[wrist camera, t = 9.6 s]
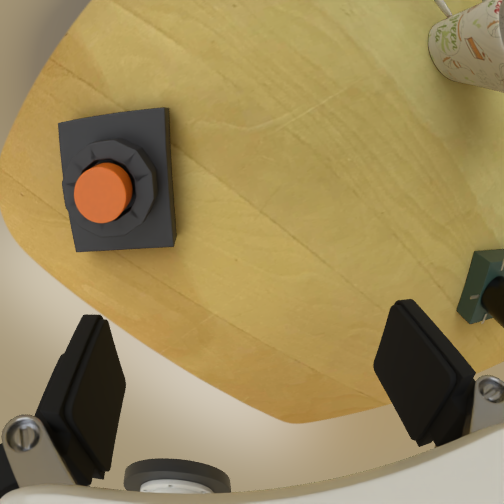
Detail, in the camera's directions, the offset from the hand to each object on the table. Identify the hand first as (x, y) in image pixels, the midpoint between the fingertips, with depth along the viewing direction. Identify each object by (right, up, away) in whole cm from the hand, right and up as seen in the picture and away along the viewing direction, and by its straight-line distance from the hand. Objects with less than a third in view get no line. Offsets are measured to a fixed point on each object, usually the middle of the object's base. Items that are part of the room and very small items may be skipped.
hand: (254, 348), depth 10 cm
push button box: (-10, +9, +13) cm, 18 cm away
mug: (+17, +23, +10) cm, 30 cm away
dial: (+28, -2, +19) cm, 34 cm away
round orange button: (-10, +7, +10) cm, 15 cm away
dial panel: (+31, 0, +22) cm, 38 cm away
